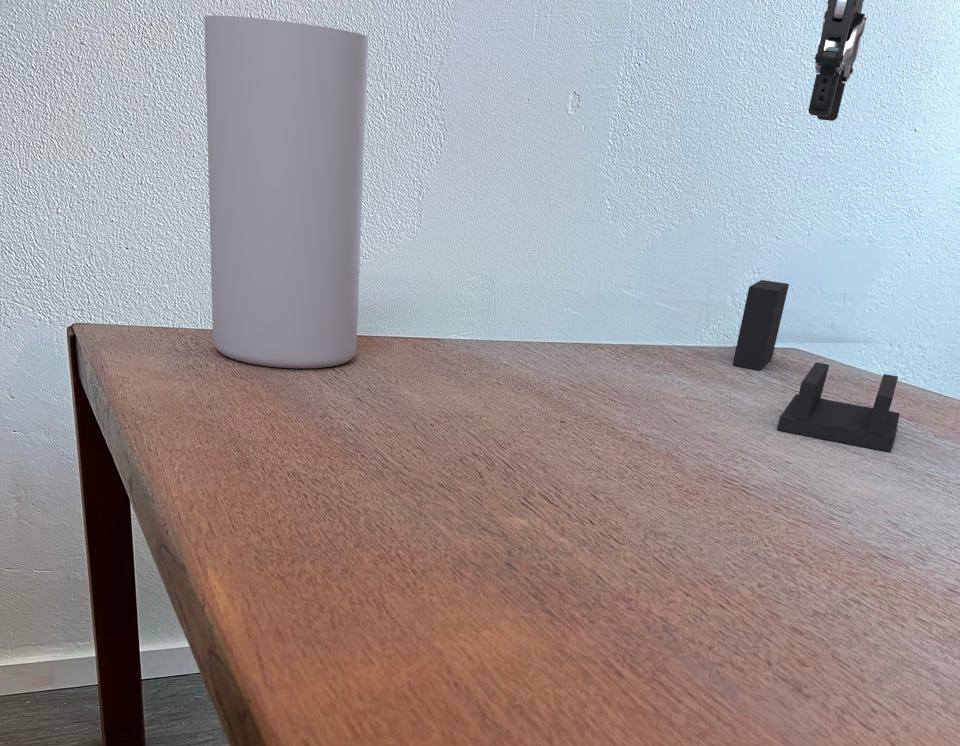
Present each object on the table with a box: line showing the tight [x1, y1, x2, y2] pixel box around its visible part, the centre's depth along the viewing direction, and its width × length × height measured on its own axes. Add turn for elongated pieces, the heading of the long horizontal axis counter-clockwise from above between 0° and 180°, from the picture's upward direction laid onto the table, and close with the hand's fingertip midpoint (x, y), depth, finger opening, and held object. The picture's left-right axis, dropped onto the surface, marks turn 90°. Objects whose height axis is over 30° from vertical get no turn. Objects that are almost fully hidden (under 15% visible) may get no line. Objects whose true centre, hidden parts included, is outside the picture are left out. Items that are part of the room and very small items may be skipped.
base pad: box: [776, 362, 901, 453], centre depth 83 cm, size 10×9×4 cm
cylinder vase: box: [203, 14, 369, 370], centre depth 82 cm, size 12×12×25 cm
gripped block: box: [732, 279, 790, 371], centre depth 105 cm, size 8×3×8 cm, turn 157°
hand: (822, 118), depth 107 cm, fingers open, 8 cm apart
